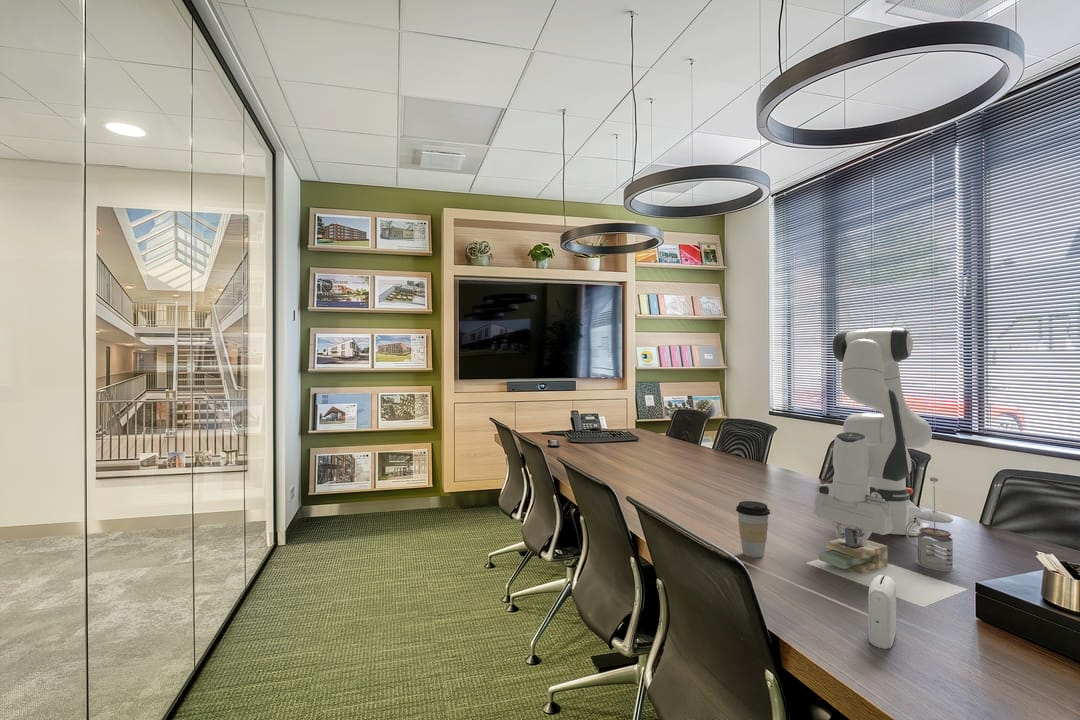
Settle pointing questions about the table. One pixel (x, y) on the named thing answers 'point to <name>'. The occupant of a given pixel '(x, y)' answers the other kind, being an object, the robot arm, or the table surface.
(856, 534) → the pin
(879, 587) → the white rounded slab
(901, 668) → the table surface
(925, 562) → the french press
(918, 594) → the mat
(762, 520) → the coffee cup
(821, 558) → the clevis
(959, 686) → the table surface
